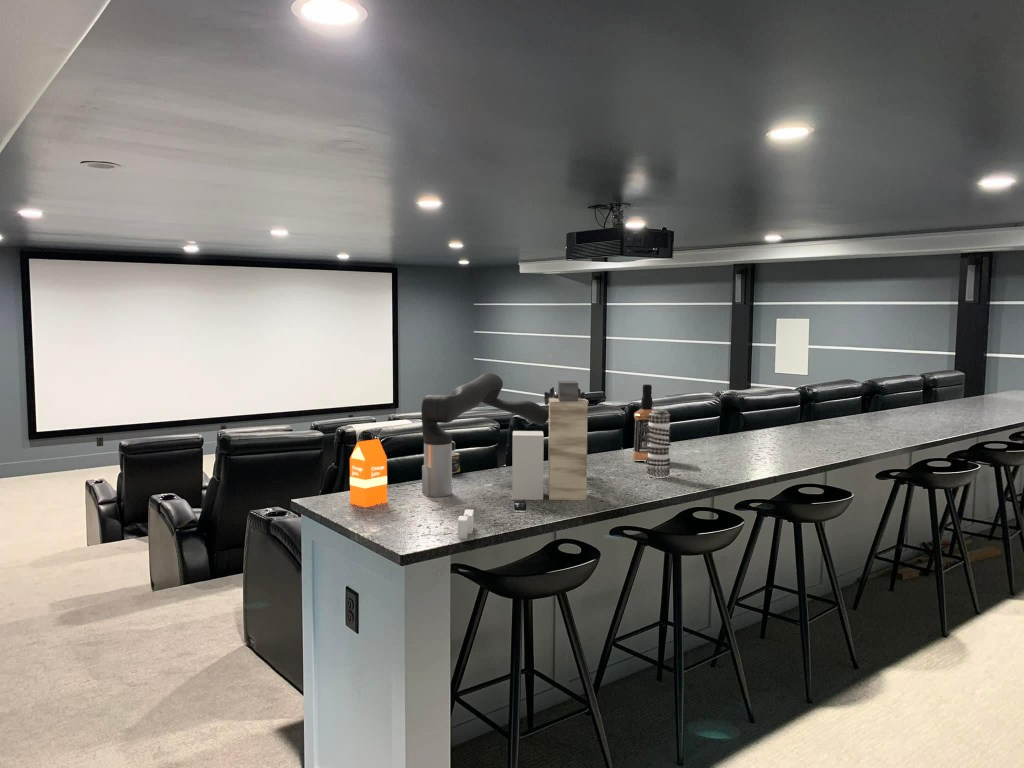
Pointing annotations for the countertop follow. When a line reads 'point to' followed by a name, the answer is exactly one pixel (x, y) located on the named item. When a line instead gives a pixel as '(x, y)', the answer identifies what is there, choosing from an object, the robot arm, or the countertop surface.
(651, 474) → the decorative candle
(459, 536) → the napkin holder
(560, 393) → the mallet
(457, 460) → the medicine bottle
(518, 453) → the tall white pillar block
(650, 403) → the whiskey bottle
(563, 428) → the stand
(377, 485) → the orange juice
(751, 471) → the countertop surface
